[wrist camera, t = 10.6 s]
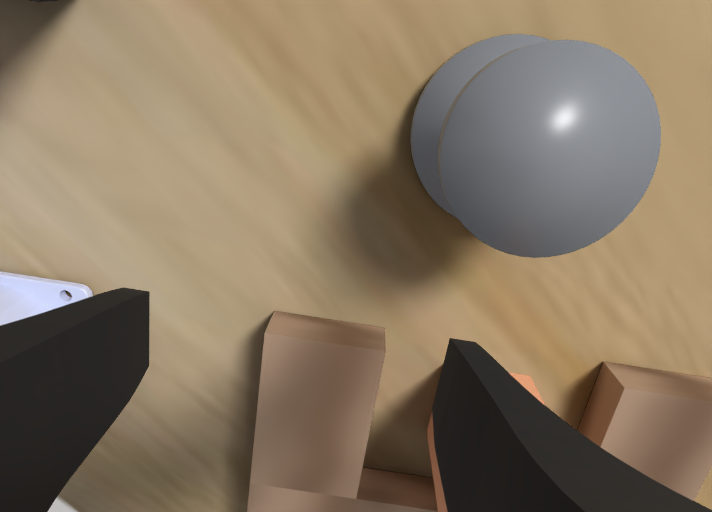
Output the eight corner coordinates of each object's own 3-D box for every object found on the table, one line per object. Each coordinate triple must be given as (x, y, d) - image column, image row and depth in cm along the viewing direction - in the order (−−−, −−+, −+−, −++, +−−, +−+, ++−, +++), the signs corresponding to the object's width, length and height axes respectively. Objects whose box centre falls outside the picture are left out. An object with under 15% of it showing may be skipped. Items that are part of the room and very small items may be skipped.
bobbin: (395, 208, 20) (402, 253, 15) (430, 21, 18) (452, -3, 12) (563, 234, 20) (628, 289, 15) (620, 52, 18) (722, 42, 12)
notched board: (253, 511, 26) (243, 545, 24) (274, 310, 22) (264, 332, 20) (621, 565, 26) (640, 603, 24) (711, 378, 22) (742, 406, 20)
